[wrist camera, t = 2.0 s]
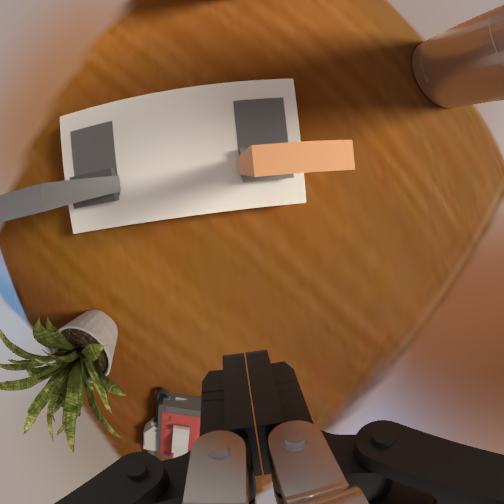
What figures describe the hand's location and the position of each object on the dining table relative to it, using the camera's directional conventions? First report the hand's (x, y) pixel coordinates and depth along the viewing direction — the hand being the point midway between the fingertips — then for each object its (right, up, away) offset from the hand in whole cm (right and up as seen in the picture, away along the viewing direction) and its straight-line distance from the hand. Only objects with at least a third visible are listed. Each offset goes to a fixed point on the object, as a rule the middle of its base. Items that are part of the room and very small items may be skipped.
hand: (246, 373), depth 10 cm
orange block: (+1, +12, +18) cm, 22 cm away
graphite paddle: (-15, +10, +17) cm, 24 cm away
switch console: (-7, +14, +20) cm, 25 cm away
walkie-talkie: (-11, -22, +29) cm, 38 cm away
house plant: (-19, -4, +23) cm, 30 cm away
